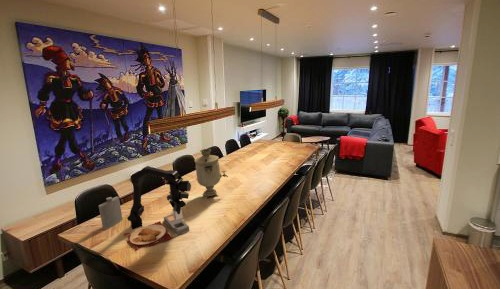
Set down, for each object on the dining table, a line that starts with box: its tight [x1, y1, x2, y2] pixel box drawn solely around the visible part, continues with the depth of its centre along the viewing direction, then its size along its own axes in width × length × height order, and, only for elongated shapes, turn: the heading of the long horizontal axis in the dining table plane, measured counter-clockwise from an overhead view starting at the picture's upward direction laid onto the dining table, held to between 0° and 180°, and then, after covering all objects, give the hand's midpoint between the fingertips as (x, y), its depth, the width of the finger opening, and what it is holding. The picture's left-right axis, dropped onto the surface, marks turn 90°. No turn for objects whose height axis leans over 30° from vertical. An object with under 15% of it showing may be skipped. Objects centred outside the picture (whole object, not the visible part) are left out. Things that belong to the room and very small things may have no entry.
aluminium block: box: [172, 208, 184, 220], centre depth 172 cm, size 4×4×6 cm
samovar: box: [194, 148, 229, 200], centre depth 221 cm, size 30×26×40 cm
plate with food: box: [123, 220, 173, 252], centre depth 168 cm, size 24×26×4 cm
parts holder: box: [163, 213, 190, 236], centre depth 179 cm, size 8×24×3 cm, turn 36°
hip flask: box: [98, 196, 123, 231], centre depth 184 cm, size 16×4×20 cm, turn 161°
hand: (177, 212), depth 172 cm, fingers closed on aluminium block, 4 cm apart
